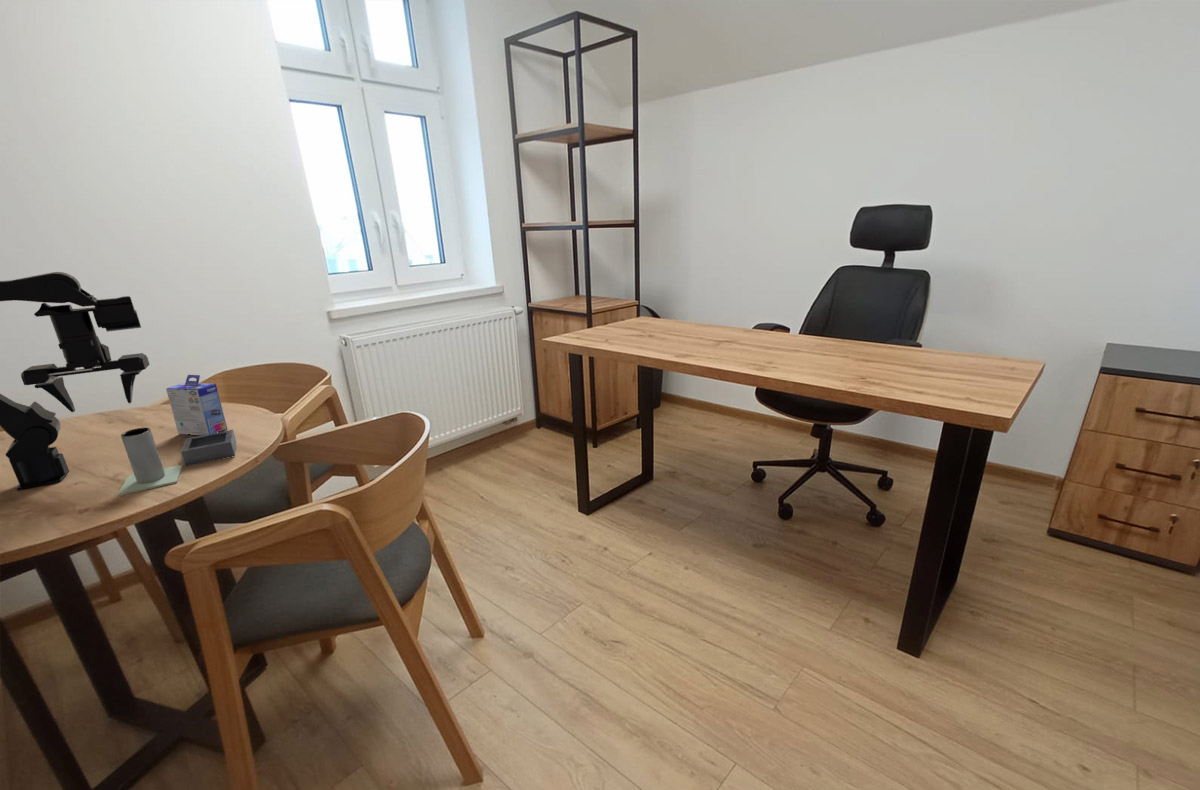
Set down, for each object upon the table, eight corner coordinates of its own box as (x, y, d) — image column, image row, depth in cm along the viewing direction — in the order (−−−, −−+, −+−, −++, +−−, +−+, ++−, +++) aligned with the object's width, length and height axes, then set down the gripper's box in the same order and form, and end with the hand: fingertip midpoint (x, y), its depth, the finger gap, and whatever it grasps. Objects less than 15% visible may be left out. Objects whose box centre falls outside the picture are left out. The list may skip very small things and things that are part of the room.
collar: (185, 466, 113) (181, 451, 111) (190, 452, 120) (186, 438, 119) (234, 456, 117) (230, 442, 116) (236, 443, 124) (232, 429, 123)
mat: (119, 495, 101) (118, 493, 101) (128, 477, 108) (128, 476, 108) (177, 482, 105) (176, 481, 105) (182, 466, 113) (182, 464, 112)
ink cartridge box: (229, 428, 134) (214, 374, 129) (210, 436, 129) (194, 380, 124) (197, 426, 136) (182, 373, 131) (177, 434, 131) (160, 379, 126)
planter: (166, 471, 110) (151, 425, 106) (164, 479, 106) (149, 432, 103) (138, 477, 107) (122, 431, 104) (135, 485, 104) (119, 438, 100)
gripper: (142, 323, 118) (163, 389, 123) (28, 335, 109) (55, 405, 114) (132, 331, 109) (155, 402, 114) (6, 344, 100) (37, 420, 105)
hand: (102, 407), depth 112 cm, fingers open, 9 cm apart
